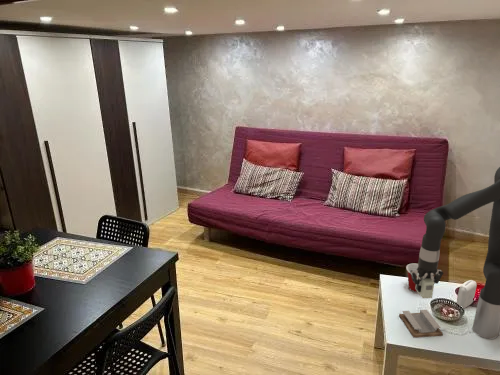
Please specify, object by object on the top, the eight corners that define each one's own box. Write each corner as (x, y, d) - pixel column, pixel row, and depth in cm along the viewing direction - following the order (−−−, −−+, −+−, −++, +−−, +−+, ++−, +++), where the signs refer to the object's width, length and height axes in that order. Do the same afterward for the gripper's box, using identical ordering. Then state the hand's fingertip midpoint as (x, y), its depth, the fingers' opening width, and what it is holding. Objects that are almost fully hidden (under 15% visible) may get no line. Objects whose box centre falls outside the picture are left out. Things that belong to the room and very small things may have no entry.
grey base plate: (425, 313, 169) (426, 309, 168) (440, 332, 158) (440, 327, 157) (401, 315, 169) (402, 311, 168) (414, 333, 157) (415, 329, 157)
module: (424, 288, 164) (426, 273, 161) (432, 298, 157) (435, 282, 154) (415, 288, 164) (417, 273, 161) (423, 299, 157) (425, 283, 154)
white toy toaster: (465, 297, 182) (469, 276, 178) (474, 302, 178) (479, 280, 174) (454, 305, 176) (458, 283, 172) (463, 310, 173) (468, 288, 169)
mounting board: (426, 314, 171) (426, 312, 170) (442, 335, 157) (443, 333, 157) (399, 316, 170) (399, 313, 170) (413, 337, 157) (413, 335, 156)
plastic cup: (406, 294, 185) (409, 274, 181) (401, 282, 195) (403, 262, 191) (429, 295, 184) (432, 275, 180) (422, 283, 194) (425, 263, 190)
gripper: (416, 262, 151) (411, 297, 156) (450, 260, 151) (444, 295, 157) (408, 253, 158) (404, 286, 163) (440, 251, 158) (435, 285, 164)
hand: (423, 290), depth 160 cm, fingers closed on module, 4 cm apart
